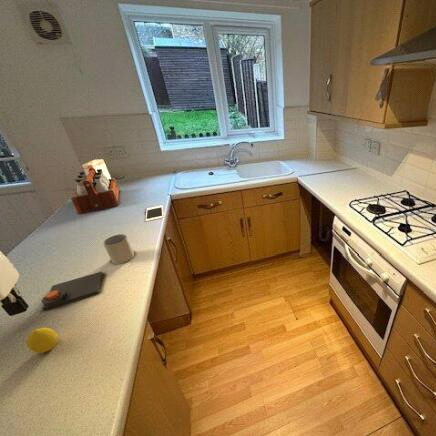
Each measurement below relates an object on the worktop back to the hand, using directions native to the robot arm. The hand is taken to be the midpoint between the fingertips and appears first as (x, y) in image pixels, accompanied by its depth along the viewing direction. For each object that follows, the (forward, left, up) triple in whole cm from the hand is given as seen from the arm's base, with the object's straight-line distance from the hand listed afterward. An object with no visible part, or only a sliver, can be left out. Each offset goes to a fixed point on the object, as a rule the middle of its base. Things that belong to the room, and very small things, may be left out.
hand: (19, 311), depth 61 cm
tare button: (-3, +20, -12) cm, 24 cm away
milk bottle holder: (-1, +120, -15) cm, 121 cm away
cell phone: (+30, +79, -15) cm, 85 cm away
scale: (+2, +24, -15) cm, 28 cm away
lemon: (0, 0, -16) cm, 16 cm away
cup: (+16, +38, -16) cm, 44 cm away
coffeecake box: (-4, +155, -16) cm, 156 cm away
